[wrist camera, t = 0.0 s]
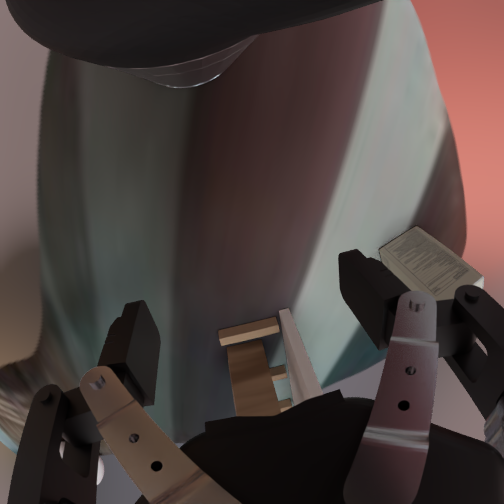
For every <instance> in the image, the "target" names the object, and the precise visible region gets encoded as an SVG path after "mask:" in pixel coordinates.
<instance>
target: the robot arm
mask: <svg viewBox="0 0 504 504" xmlns="http://www.w3.org/2000/svg"><path fill="white" fill-rule="evenodd" d="M379 1H382V0H6V3H7V6H8V9H9V11H10V13H11V15H12V17H13V18H14V20H15V21H16V23H17V24H18V25H19V26H20V28H21V29H22V30H23V31H24V32H25V33H26V34H27V35H28V36H29V37H31V38H32V39H33V40H35V41H37V42H38V43H40V44H41V45H43V46H45V47H46V48H49V49H51V50H53V51H55V52H57V53H60V54H63V55H66V56H69V57H72V58H75V59H79V60H83V61H87V62H90V63H94V64H98V65H102V66H106V67H109V68H112V69H116V70H119V71H123V72H126V73H129V74H132V75H135V76H138V77H141V78H143V79H146V80H149V81H152V82H155V83H157V84H160V85H164V86H167V87H171V88H189V87H196V86H199V85H202V84H205V83H207V82H209V81H211V80H213V79H215V78H216V77H218V76H219V75H221V73H223V72H224V71H225V70H226V69H227V68H228V67H229V66H230V65H231V64H232V63H233V62H234V61H235V60H236V58H237V57H238V56H239V55H240V54H241V53H242V52H243V51H244V50H245V49H246V48H247V47H248V46H249V45H250V44H251V43H252V42H253V41H254V40H255V39H256V38H257V36H258V35H259V34H262V33H267V32H271V31H276V30H281V29H285V28H289V27H294V26H298V25H302V24H307V23H311V22H315V21H319V20H323V19H326V18H329V17H333V16H336V15H340V14H342V13H345V12H348V11H351V10H354V9H358V8H360V7H363V6H367V5H370V4H373V3H376V2H379ZM338 261H339V282H340V291H341V294H342V297H343V299H344V301H345V302H346V303H347V305H348V306H349V308H350V309H351V311H352V312H353V313H354V315H355V316H356V318H357V319H358V321H359V322H360V324H361V325H362V326H363V328H364V329H365V331H366V332H367V334H368V335H369V337H370V338H371V340H372V341H373V343H374V344H375V346H376V347H377V349H378V350H379V351H380V350H382V349H385V348H388V352H387V356H386V360H385V365H384V369H383V373H382V376H381V380H380V384H379V388H378V392H377V395H376V399H375V400H372V399H367V398H359V397H347V398H343V396H342V394H341V392H340V389H339V390H336V391H333V392H329V393H326V394H323V395H320V396H316V397H313V398H310V399H307V400H305V401H303V402H301V403H299V404H297V405H295V406H293V407H291V408H289V409H287V410H285V411H283V412H281V413H279V414H277V415H274V416H236V417H231V418H226V419H220V420H214V421H208V422H205V431H206V432H203V433H201V434H199V435H197V436H195V437H193V438H192V439H190V440H189V441H187V442H186V443H185V444H184V445H182V446H181V447H180V448H178V447H177V445H176V444H175V443H174V442H173V441H172V440H171V439H170V438H169V437H168V436H167V435H166V434H165V433H164V432H163V431H162V430H161V428H160V427H159V426H158V425H157V424H156V423H155V422H154V421H153V420H152V418H151V417H150V416H149V415H148V414H147V413H146V411H145V410H144V409H143V407H144V406H150V405H154V399H155V389H156V379H157V369H158V360H159V352H160V343H161V341H160V335H159V331H158V329H157V326H156V324H155V322H154V320H153V318H152V316H151V313H150V311H149V309H148V307H147V304H146V303H145V301H144V300H140V301H136V302H131V303H127V304H125V307H124V310H123V313H122V316H121V317H118V318H117V319H116V320H115V321H114V322H113V324H112V325H111V326H110V329H109V331H108V334H107V336H108V337H106V340H105V344H104V346H103V349H102V352H101V356H100V359H99V362H98V365H97V367H95V368H92V369H91V370H89V371H88V372H87V373H85V375H84V376H83V377H82V379H81V381H80V384H79V387H78V388H75V389H72V390H70V391H67V392H64V393H63V391H62V390H61V389H60V388H59V387H58V386H57V385H54V384H50V385H46V386H44V387H43V388H41V389H40V390H39V391H38V392H37V393H36V394H35V396H34V398H33V401H32V404H31V407H30V410H29V413H28V416H27V420H26V423H25V426H24V430H23V433H22V437H21V441H20V445H19V448H18V452H17V457H16V461H15V465H14V470H13V475H12V480H11V485H10V491H9V496H8V503H7V504H96V491H97V474H98V461H99V450H100V441H101V440H103V439H104V440H105V441H106V443H107V445H108V446H109V448H110V449H111V451H112V452H113V454H114V455H115V457H116V458H117V460H118V461H119V463H120V464H121V466H122V467H123V468H124V470H125V471H126V473H127V474H128V475H129V477H130V478H131V480H132V481H133V482H134V484H135V485H136V486H137V487H138V489H139V490H140V491H141V492H142V495H141V497H140V498H139V499H138V500H137V502H136V503H135V504H504V308H503V307H502V306H501V305H499V304H498V303H497V302H496V301H495V300H494V299H493V298H492V297H491V296H490V295H489V294H488V293H487V292H485V291H484V290H483V289H482V288H480V287H478V286H475V285H462V286H460V287H458V288H457V289H456V291H455V294H454V299H447V300H439V301H436V300H435V299H434V297H433V296H432V295H430V294H428V293H426V292H423V291H411V290H410V289H409V288H408V287H407V286H406V285H405V284H404V283H403V282H402V281H401V280H400V279H399V278H398V277H397V276H396V275H394V273H393V272H392V271H391V270H388V268H387V267H386V266H385V265H384V264H383V263H382V262H381V261H378V260H376V259H374V258H371V257H370V258H366V257H365V256H364V255H363V254H362V253H361V252H360V251H359V250H358V249H354V250H350V251H347V252H343V253H340V254H339V257H338ZM476 338H478V339H479V340H480V341H481V343H482V344H483V345H484V346H485V348H486V350H487V355H488V356H487V355H486V354H485V353H484V351H483V350H482V349H481V348H480V347H479V346H478V344H477V343H476V342H475V341H476ZM440 357H443V358H444V359H445V361H446V362H447V363H448V365H449V366H450V368H451V369H452V370H453V372H454V373H455V375H456V376H457V378H458V379H459V380H460V382H461V383H462V385H463V386H464V388H465V389H466V391H467V392H468V394H469V395H470V397H471V398H472V400H473V401H474V403H475V405H476V406H477V407H478V409H479V411H480V412H481V414H482V416H483V417H484V419H485V420H486V422H485V424H484V434H485V442H483V441H480V440H478V439H475V438H472V437H469V436H466V435H462V434H460V433H457V432H454V431H451V430H449V429H446V428H443V427H441V426H438V425H435V424H433V423H431V417H432V411H433V404H434V396H435V388H436V378H437V367H438V358H440ZM62 437H63V438H64V439H65V446H64V451H63V458H62V459H61V457H60V452H59V450H60V444H61V439H62Z"/></svg>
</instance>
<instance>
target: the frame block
mask: <svg viewBox="0 0 504 504" xmlns="http://www.w3.org/2000/svg"><path fill="white" fill-rule="evenodd" d="M227 354H228V364H229V371H230V378H231V384H232V391H233V397H234V403H235V410H236V416H274V415H277V414H279V413H281V410H280V406H279V402H278V399H277V395H276V392H275V388H274V384H273V381H272V377H271V373H270V370H269V366H268V362H267V358H266V355H265V351H264V347H263V344H262V340H261V339H260V340H256V341H252V342H248V343H243V344H239V345H235V346H230V347H227Z"/></svg>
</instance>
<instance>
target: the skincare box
mask: <svg viewBox="0 0 504 504" xmlns="http://www.w3.org/2000/svg"><path fill="white" fill-rule="evenodd" d="M379 251H380V255H381V259H382V263H383V264H384V265H385V266H386V267H387V268H388V270H391V271H392V272H393V273H394V275H396V276H397V277H398V278H399V279H400V280H401V281H402V282H403V283H404V284H405V285H406V286H407V287H408V288H409V289H410V290H411V291H423V292H426V293H428V294H430V295H432V296H433V297H434V299H435V300H436V301H439V300H447V299H454V294H455V291H456V289H457V288H458V287H460V286H462V285H475V286H478V287H480V288H482V289H483V285H484V276H483V275H481V274H480V273H479V272H478V271H476V270H475V269H474V268H473V267H471V266H470V265H469V264H467V263H466V262H465V261H464V260H463V259H461V258H460V257H459V256H457V255H456V254H455V253H453V252H452V251H451V250H450V249H448V248H447V247H445V246H444V245H443V244H441V243H440V242H439V241H437V240H436V239H435V238H433V237H432V236H430V235H429V234H428V233H426V232H425V231H424V230H422V229H421V228H419V227H418V226H415V227H413V228H412V229H410V230H409V231H407V232H405V233H404V234H402V235H401V236H399V237H398V238H396V239H395V240H393V241H391V242H390V243H388V244H387V245H385V246H384V247H382V248H381V249H380V250H379Z"/></svg>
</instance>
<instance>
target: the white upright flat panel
mask: <svg viewBox="0 0 504 504" xmlns="http://www.w3.org/2000/svg"><path fill="white" fill-rule="evenodd" d="M279 315H280V321H281V327H282V334H283V340H284V346H285V352H286V358H287V365H288V371H289V377H290V384H291V390H292V397H293V403H294V406H295V405H297V404H299V403H301V402H303V401H305V400H307V399H310V398H313V397H316V396H320V395H323V392H322V390H321V387H320V385H319V382H318V380H317V377H316V375H315V372H314V370H313V367H312V365H311V362H310V360H309V357H308V355H307V352H306V350H305V347H304V345H303V342H302V340H301V337H300V335H299V332H298V330H297V328H296V325H295V323H294V320H293V318H292V315H291V313H290V310H289V308H287V309H283V310H279ZM277 332H279V326H278V322H277V320H276V317H272V318H268V319H264V320H260V321H256V322H252V323H248V324H243V325H239V326H235V327H231V328H226V329H222V330H218V333H219V340H220V342H221V345H222V346H223V345H228V344H232V343H236V342H241V341H245V340H249V339H253V338H258V337H262V336H266V335H270V334H274V333H277ZM269 370H270V373H271V377H272V381H276V380H280V379H284V378H287V373H286V370H285V367H284V365H281V366H278V367H274V368H270V369H269ZM279 406H280V410H281V412H283V411H285V410H287V409H289V408H291V407H292V404H291V401H290V399H286V400H283V401H279Z"/></svg>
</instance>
